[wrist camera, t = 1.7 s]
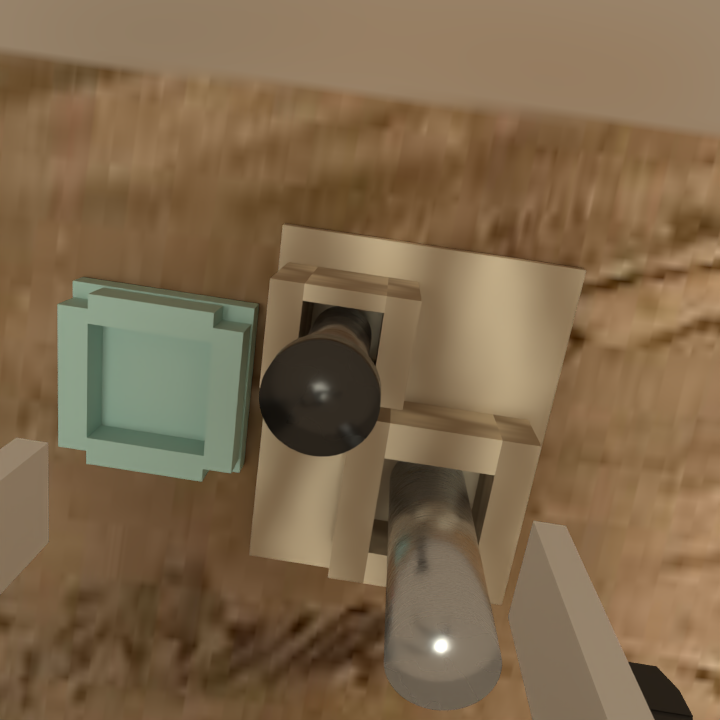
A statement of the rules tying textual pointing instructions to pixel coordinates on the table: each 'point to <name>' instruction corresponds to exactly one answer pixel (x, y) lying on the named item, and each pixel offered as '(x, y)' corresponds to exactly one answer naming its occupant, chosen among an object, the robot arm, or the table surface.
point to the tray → (155, 378)
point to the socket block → (416, 392)
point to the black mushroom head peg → (324, 386)
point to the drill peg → (436, 593)
